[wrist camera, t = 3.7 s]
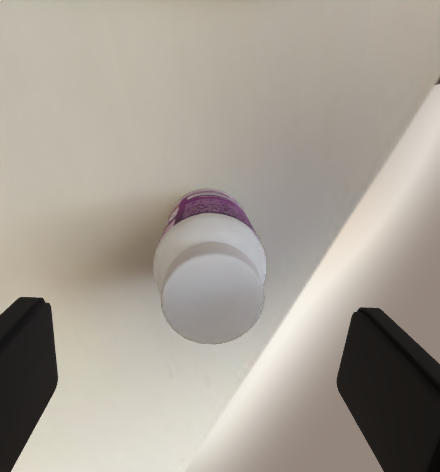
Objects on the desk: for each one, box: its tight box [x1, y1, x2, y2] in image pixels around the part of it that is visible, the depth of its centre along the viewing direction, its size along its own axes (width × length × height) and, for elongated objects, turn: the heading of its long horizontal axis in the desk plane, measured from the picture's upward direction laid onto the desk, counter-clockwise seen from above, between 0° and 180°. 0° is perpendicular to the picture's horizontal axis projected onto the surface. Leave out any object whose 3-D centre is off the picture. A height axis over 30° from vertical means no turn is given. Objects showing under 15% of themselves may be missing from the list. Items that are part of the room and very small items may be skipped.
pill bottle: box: [153, 189, 267, 344], centre depth 16 cm, size 5×5×10 cm
